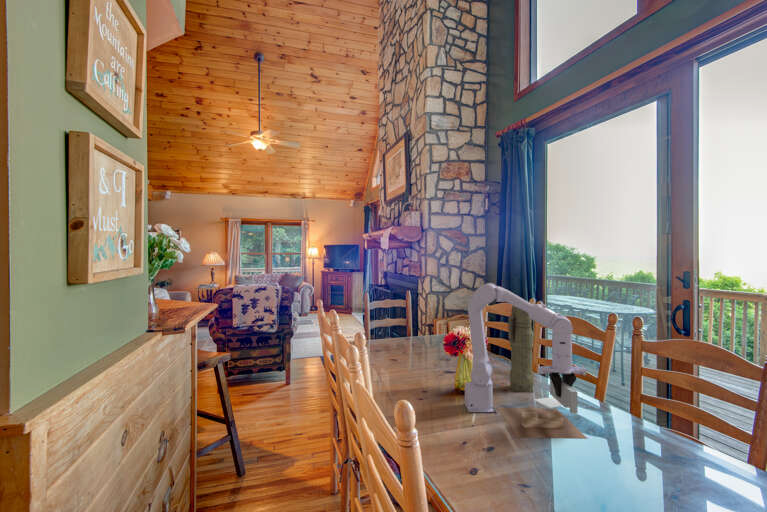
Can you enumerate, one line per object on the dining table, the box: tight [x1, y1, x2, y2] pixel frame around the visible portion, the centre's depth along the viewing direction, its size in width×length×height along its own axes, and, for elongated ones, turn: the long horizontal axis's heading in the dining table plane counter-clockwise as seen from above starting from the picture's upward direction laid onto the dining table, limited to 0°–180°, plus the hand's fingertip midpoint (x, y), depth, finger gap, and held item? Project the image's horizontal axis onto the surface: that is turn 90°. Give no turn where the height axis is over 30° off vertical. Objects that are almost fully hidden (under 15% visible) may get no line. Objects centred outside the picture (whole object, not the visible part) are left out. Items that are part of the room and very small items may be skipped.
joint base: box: [497, 407, 588, 440], centre depth 111 cm, size 20×20×5 cm
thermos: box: [507, 305, 535, 394], centre depth 141 cm, size 9×12×35 cm
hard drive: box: [533, 397, 563, 409], centre depth 127 cm, size 2×8×12 cm
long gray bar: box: [549, 377, 578, 414], centre depth 113 cm, size 2×15×6 cm, turn 177°
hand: (562, 396), depth 113 cm, fingers closed on long gray bar, 2 cm apart
